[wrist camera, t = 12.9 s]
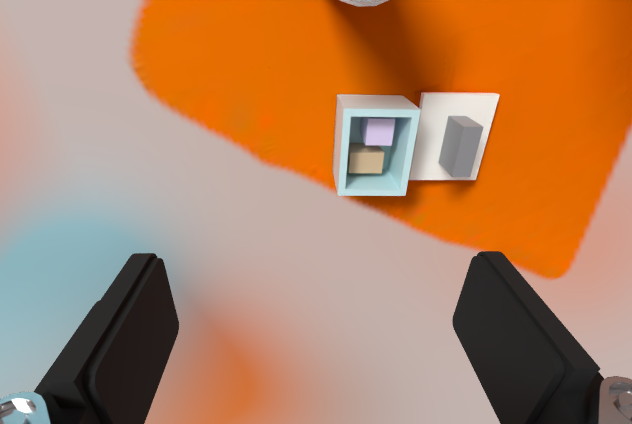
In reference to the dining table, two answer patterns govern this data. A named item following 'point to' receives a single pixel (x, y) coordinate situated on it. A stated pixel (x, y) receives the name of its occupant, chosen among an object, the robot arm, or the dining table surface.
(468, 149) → the lid
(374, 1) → the smoothie
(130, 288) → the robot arm
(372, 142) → the tub
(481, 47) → the dining table surface
